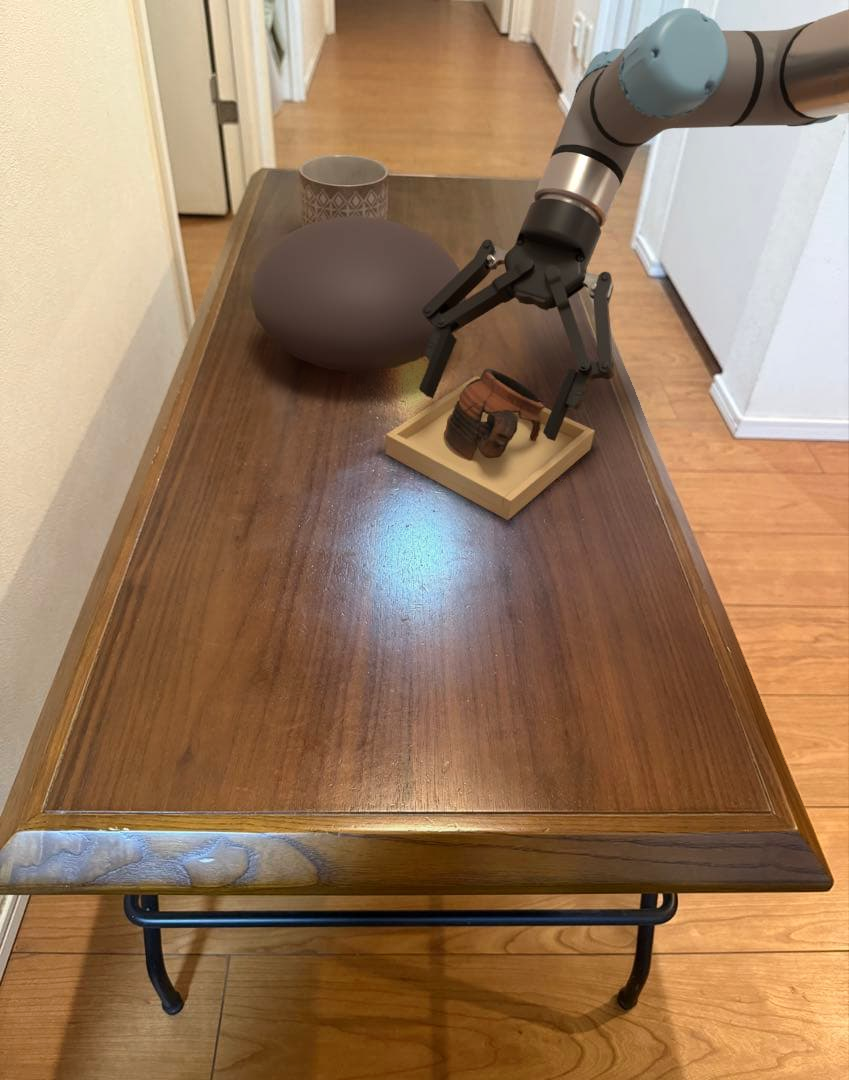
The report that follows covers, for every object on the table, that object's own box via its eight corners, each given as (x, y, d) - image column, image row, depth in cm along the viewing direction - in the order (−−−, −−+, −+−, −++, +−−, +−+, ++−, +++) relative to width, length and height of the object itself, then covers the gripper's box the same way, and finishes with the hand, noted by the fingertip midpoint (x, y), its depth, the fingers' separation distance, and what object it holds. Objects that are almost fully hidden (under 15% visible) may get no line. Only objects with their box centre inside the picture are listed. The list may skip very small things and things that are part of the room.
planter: (285, 235, 125) (281, 164, 118) (353, 217, 132) (353, 148, 125) (335, 266, 118) (333, 192, 111) (404, 245, 125) (406, 174, 118)
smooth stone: (236, 315, 107) (223, 198, 97) (419, 292, 114) (424, 180, 104) (284, 422, 90) (274, 293, 80) (493, 386, 97) (508, 264, 87)
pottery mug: (432, 420, 91) (470, 353, 88) (505, 455, 94) (544, 392, 91) (446, 462, 80) (489, 388, 77) (528, 501, 83) (573, 431, 80)
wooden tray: (590, 449, 89) (594, 430, 88) (507, 520, 80) (510, 500, 78) (474, 394, 96) (476, 375, 94) (385, 453, 87) (385, 434, 85)
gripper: (690, 263, 82) (608, 464, 82) (465, 204, 90) (390, 387, 90) (690, 227, 75) (600, 447, 75) (445, 167, 83) (364, 365, 83)
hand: (485, 415), depth 82 cm, fingers open, 13 cm apart
